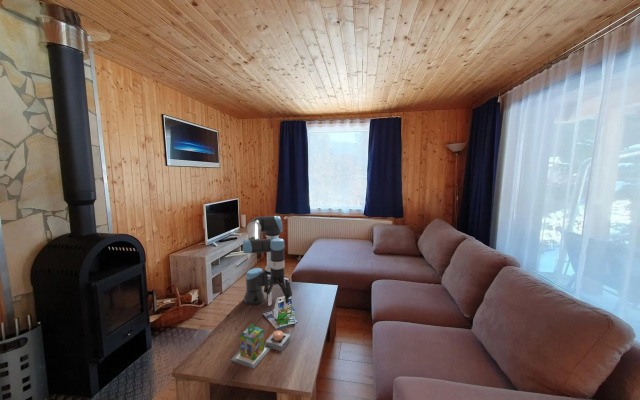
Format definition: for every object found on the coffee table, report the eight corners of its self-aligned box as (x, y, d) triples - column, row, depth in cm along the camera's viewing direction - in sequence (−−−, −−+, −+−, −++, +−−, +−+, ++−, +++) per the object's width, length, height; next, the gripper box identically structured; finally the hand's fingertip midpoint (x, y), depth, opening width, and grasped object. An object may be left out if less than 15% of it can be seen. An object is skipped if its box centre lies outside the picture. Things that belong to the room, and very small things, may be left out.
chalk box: (254, 361, 121) (254, 333, 120) (239, 356, 125) (238, 328, 123) (265, 349, 130) (264, 322, 129) (250, 344, 133) (250, 319, 132)
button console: (275, 335, 143) (275, 330, 142) (290, 339, 139) (290, 334, 139) (265, 346, 133) (265, 341, 133) (281, 351, 130) (281, 346, 129)
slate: (250, 342, 136) (250, 340, 136) (271, 348, 131) (271, 347, 131) (231, 360, 123) (231, 359, 122) (254, 369, 117) (254, 367, 117)
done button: (276, 333, 139) (276, 329, 139) (285, 336, 137) (285, 332, 137) (271, 339, 134) (271, 335, 134) (279, 342, 132) (279, 338, 132)
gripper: (256, 266, 133) (257, 305, 135) (292, 272, 125) (292, 314, 127) (264, 262, 140) (264, 299, 142) (298, 267, 132) (298, 307, 134)
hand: (277, 306), depth 134 cm, fingers open, 9 cm apart
